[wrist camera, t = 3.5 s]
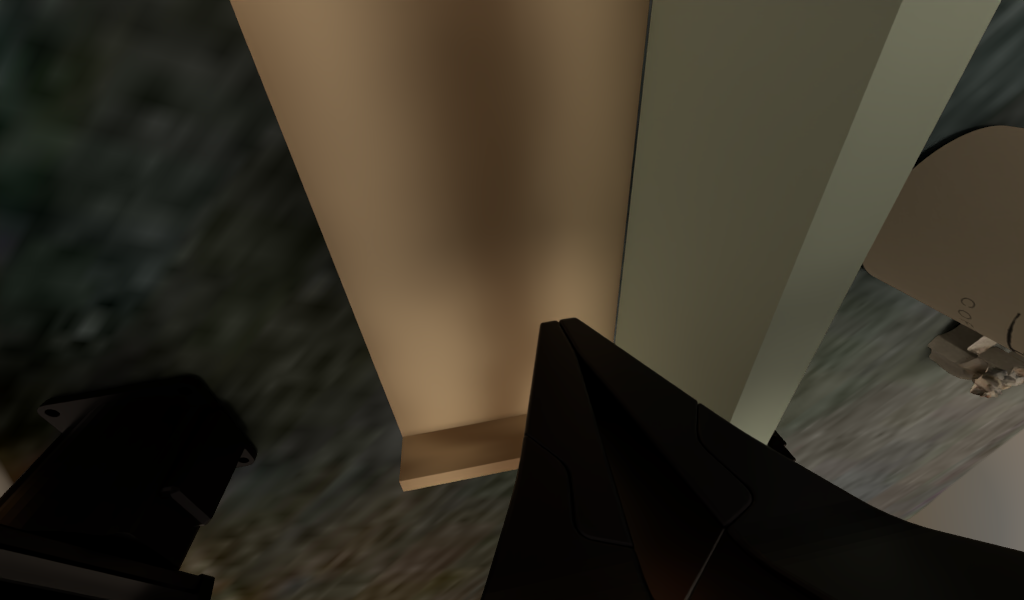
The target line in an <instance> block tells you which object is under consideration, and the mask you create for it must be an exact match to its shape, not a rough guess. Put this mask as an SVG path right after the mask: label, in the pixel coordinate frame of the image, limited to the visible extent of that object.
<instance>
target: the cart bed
mask: <svg viewBox="0 0 1024 600" xmlns="http://www.w3.org/2000/svg"><path fill="white" fill-rule="evenodd" d="M649 1H650V0H230V2H231V4H232V7H233V9H234V12H235V14H236V17H237V19H238V22H239V25H240V27H241V30H242V32H243V35H244V37H245V40H246V42H247V45H248V47H249V50H250V52H251V55H252V57H253V60H254V62H255V65H256V67H257V70H258V73H259V75H260V78H261V80H262V83H263V85H264V88H265V90H266V93H267V95H268V98H269V100H270V103H271V105H272V108H273V110H274V113H275V115H276V118H277V120H278V123H279V126H280V128H281V131H282V133H283V136H284V138H285V141H286V143H287V146H288V148H289V151H290V153H291V156H292V158H293V161H294V163H295V166H296V168H297V171H298V174H299V176H300V179H301V181H302V184H303V186H304V189H305V191H306V194H307V196H308V199H309V201H310V204H311V206H312V209H313V211H314V214H315V216H316V219H317V221H318V224H319V227H320V229H321V232H322V234H323V237H324V239H325V242H326V244H327V247H328V249H329V252H330V254H331V257H332V259H333V262H334V264H335V267H336V269H337V272H338V275H339V277H340V280H341V282H342V285H343V287H344V290H345V292H346V295H347V297H348V300H349V302H350V305H351V307H352V310H353V312H354V315H355V317H356V320H357V322H358V325H359V328H360V330H361V333H362V335H363V338H364V340H365V343H366V345H367V348H368V350H369V353H370V355H371V358H372V360H373V363H374V365H375V368H376V370H377V373H378V376H379V378H380V381H381V383H382V386H383V388H384V391H385V393H386V396H387V398H388V401H389V403H390V406H391V408H392V411H393V413H394V416H395V418H396V421H397V423H398V426H399V429H400V431H401V434H402V436H403V442H402V454H401V466H400V479H399V482H400V484H401V487H402V489H403V491H409V490H414V489H419V488H424V487H429V486H434V485H439V484H444V483H449V482H454V481H459V480H464V479H469V478H474V477H479V476H484V475H489V474H494V473H499V472H504V471H509V470H514V469H518V466H519V461H520V456H521V449H522V442H523V437H524V430H525V423H526V417H527V410H528V403H529V396H530V389H531V383H532V376H533V369H534V362H535V355H536V349H537V342H538V335H539V328H540V324H541V323H542V322H548V321H554V320H556V321H558V322H559V320H561V319H566V318H572V317H575V318H578V319H579V320H581V321H582V322H584V323H585V324H587V325H588V326H589V327H591V328H592V329H594V330H595V331H597V332H598V333H600V334H601V335H603V336H604V337H605V338H607V339H608V340H610V341H611V342H613V340H614V331H615V321H616V312H617V302H618V293H619V284H620V274H621V265H622V255H623V246H624V237H625V227H626V218H627V208H628V199H629V190H630V180H631V171H632V161H633V152H634V143H635V133H636V124H637V114H638V105H639V96H640V86H641V77H642V67H643V58H644V49H645V39H646V30H647V20H648V11H649Z"/></svg>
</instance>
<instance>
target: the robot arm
mask: <svg viewBox="0 0 1024 600" xmlns="http://www.w3.org/2000/svg"><path fill="white" fill-rule="evenodd" d="M37 413H38V414H39V415H40V416H41V417H43V418H44V419H45V420H46V421H48V422H49V423H50V424H51V425H52V426H54V427H55V428H56V429H57V430H59V431H60V432H61V433H62V434H61V435H60V436H59V437H58V438H57V439H56V440H55V441H54V442H53V443H52V444H51V445H50V446H49V447H48V448H47V449H46V450H45V451H44V452H43V454H42V455H41V456H40V457H39V458H38V459H37V460H36V461H35V462H34V463H33V464H32V465H31V466H30V467H29V468H28V469H27V470H26V471H25V472H24V473H23V475H22V476H21V477H20V478H19V479H18V480H17V481H16V482H15V483H14V484H13V485H12V486H11V487H10V488H9V489H8V490H7V491H6V492H5V493H4V494H3V496H2V497H1V498H0V600H210V599H211V595H212V590H213V585H214V580H215V578H214V577H212V576H208V575H205V574H200V575H198V576H197V575H194V574H190V573H186V572H182V571H178V570H179V569H180V567H181V565H182V563H183V561H184V559H185V557H186V554H187V552H188V550H189V548H190V546H191V544H192V542H193V540H194V538H195V536H196V534H197V532H198V530H199V528H200V526H203V525H206V524H208V523H209V521H210V520H211V519H212V517H213V515H214V513H215V511H216V509H217V506H218V504H219V502H220V500H221V498H222V496H223V494H224V492H225V489H226V487H227V485H228V483H229V481H230V479H231V477H232V474H233V472H234V470H235V468H237V467H243V466H248V465H251V464H253V463H254V461H255V458H256V456H257V453H256V451H255V450H254V448H253V447H252V446H251V445H250V443H249V442H248V441H247V440H246V438H245V437H244V436H243V435H242V433H241V432H240V431H239V430H238V428H237V427H236V426H235V425H234V423H233V422H232V421H231V419H230V418H229V417H228V416H227V414H226V413H225V412H224V411H223V409H222V408H221V407H220V406H219V404H218V403H217V402H216V401H215V399H214V398H213V397H212V396H211V394H210V393H209V392H208V390H207V389H206V388H205V387H204V385H203V384H202V383H201V382H200V381H199V380H197V379H195V378H192V377H180V378H174V379H168V380H162V381H156V382H150V383H144V384H138V385H132V386H125V387H119V388H113V389H107V390H101V391H95V392H89V393H83V394H76V395H70V396H64V397H58V398H52V399H48V400H46V401H45V402H44V403H43V404H42V405H41V406H40V407H39V408H38V409H37ZM481 600H1024V552H1022V551H1018V550H1014V549H1010V548H1006V547H1002V546H998V545H994V544H990V543H986V542H982V541H978V540H973V539H970V538H965V537H961V536H957V535H953V534H949V533H945V532H941V531H937V530H933V529H929V528H926V527H922V526H919V525H916V524H913V523H910V522H907V521H905V520H902V519H900V518H897V517H895V516H893V515H890V514H888V513H886V512H884V511H881V510H879V509H877V508H875V507H873V506H871V505H869V504H867V503H866V502H864V501H862V500H860V499H858V498H856V497H855V496H853V495H851V494H849V493H848V492H846V491H844V490H843V489H841V488H839V487H837V486H836V485H834V484H832V483H830V482H829V481H827V480H825V479H824V478H822V477H820V476H818V475H817V474H815V473H813V472H811V471H810V470H808V469H806V468H804V467H803V466H801V465H799V464H798V463H796V462H794V461H792V460H791V459H789V458H787V457H785V456H784V455H782V454H780V453H779V452H777V451H775V450H773V449H772V448H770V447H768V446H767V445H765V444H763V443H762V442H760V441H758V440H757V439H755V438H754V437H752V436H750V435H749V434H747V433H745V432H744V431H742V430H741V429H739V428H738V427H736V426H734V425H733V424H731V423H730V422H728V421H727V420H725V419H724V418H722V417H721V416H719V415H718V414H716V413H715V412H713V411H712V410H710V409H709V408H708V407H706V406H705V405H703V404H702V403H698V402H697V400H696V399H694V398H693V397H691V396H690V395H688V394H687V393H685V392H684V391H683V390H681V389H680V388H678V387H677V386H675V385H674V384H672V383H671V382H669V381H668V380H667V379H665V378H664V377H662V376H661V375H659V374H658V373H656V372H655V371H653V370H652V369H651V368H649V367H648V366H646V365H645V364H643V363H642V362H640V361H639V360H637V359H636V358H635V357H633V356H632V355H630V354H629V353H627V352H626V351H624V350H623V349H621V348H620V347H619V346H617V345H616V344H614V343H613V342H611V341H610V340H608V339H607V338H605V337H604V336H603V335H601V334H600V333H598V332H597V331H595V330H594V329H592V328H591V327H589V326H588V325H587V324H585V323H584V322H582V321H581V320H579V319H578V318H575V317H572V318H566V319H561V320H559V322H558V321H556V320H554V321H548V322H542V323H541V324H540V328H539V335H538V342H537V349H536V355H535V362H534V369H533V376H532V383H531V389H530V396H529V403H528V410H527V417H526V423H525V430H524V437H523V442H522V449H521V456H520V461H519V466H518V472H517V477H516V481H515V485H514V489H513V493H512V497H511V500H510V504H509V508H508V511H507V515H506V518H505V521H504V525H503V528H502V531H501V535H500V538H499V541H498V545H497V548H496V551H495V555H494V558H493V561H492V565H491V568H490V571H489V575H488V578H487V581H486V585H485V588H484V591H483V594H482V597H481Z"/></svg>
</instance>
